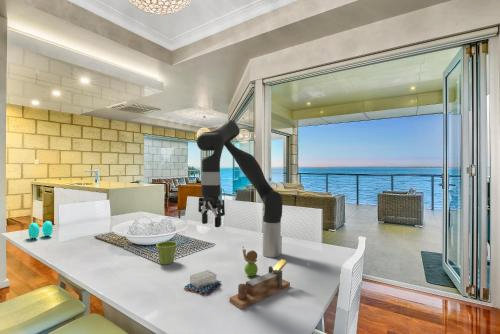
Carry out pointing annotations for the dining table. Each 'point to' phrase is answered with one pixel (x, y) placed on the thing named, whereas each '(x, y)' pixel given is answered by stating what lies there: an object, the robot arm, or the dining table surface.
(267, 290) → the plane body
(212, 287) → the woven mat
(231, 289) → the dining table surface
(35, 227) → the turquoise egg pair
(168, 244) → the plant pot
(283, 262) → the lever
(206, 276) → the grey rough lump
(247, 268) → the green toy figurine
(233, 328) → the dining table surface
